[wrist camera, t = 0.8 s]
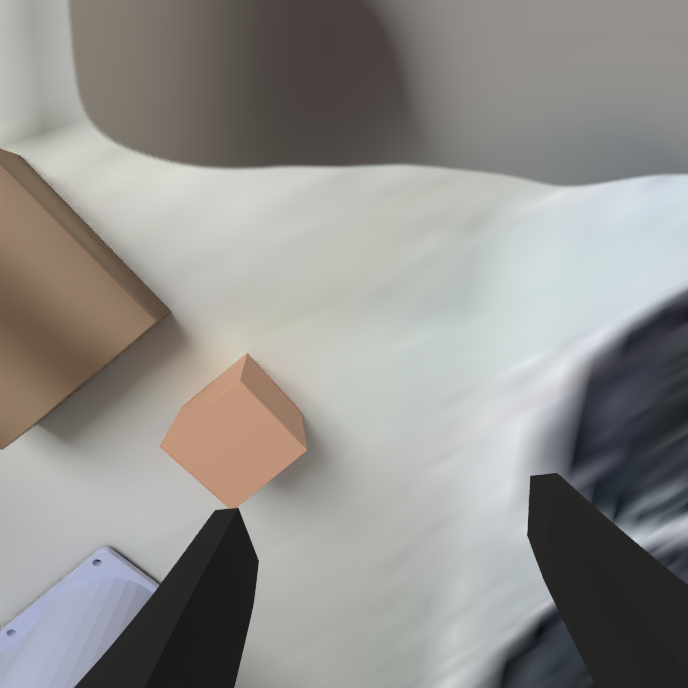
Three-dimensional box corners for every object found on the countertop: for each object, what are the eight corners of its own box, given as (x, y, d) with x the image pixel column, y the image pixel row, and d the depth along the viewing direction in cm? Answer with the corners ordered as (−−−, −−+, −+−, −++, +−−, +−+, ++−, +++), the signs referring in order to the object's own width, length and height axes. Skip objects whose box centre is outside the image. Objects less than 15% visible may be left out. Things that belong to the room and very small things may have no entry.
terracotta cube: (240, 460, 25) (232, 511, 21) (182, 405, 24) (159, 446, 19) (301, 411, 25) (307, 450, 21) (247, 352, 24) (240, 380, 19)
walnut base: (36, 424, 23) (2, 450, 20) (-133, 286, 20) (-202, 293, 17) (171, 311, 22) (156, 321, 20) (19, 155, 20) (-24, 140, 17)
